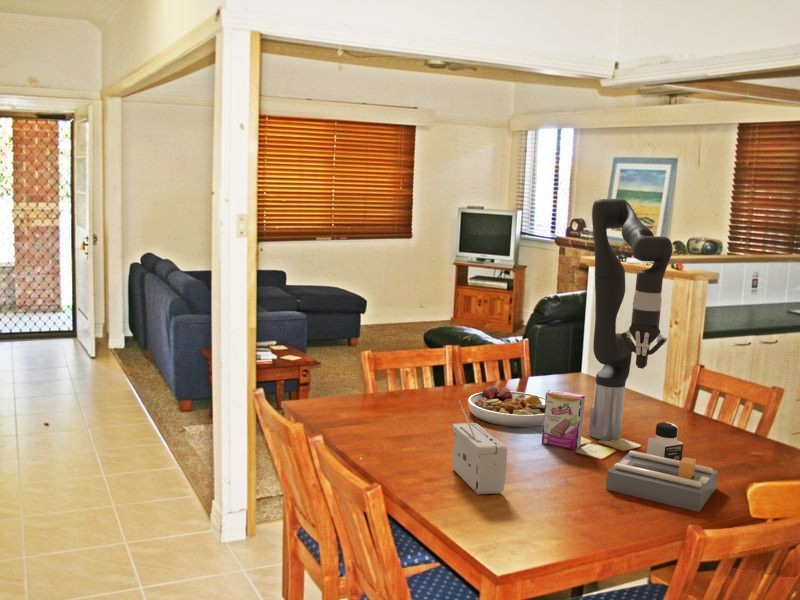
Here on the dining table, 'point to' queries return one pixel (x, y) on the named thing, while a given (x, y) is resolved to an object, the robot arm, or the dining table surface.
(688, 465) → the orange block
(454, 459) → the stereo radio cassette player
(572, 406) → the candy bar box
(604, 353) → the robot arm
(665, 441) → the medicine bottle
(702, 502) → the grey rail box
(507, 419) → the bowl
